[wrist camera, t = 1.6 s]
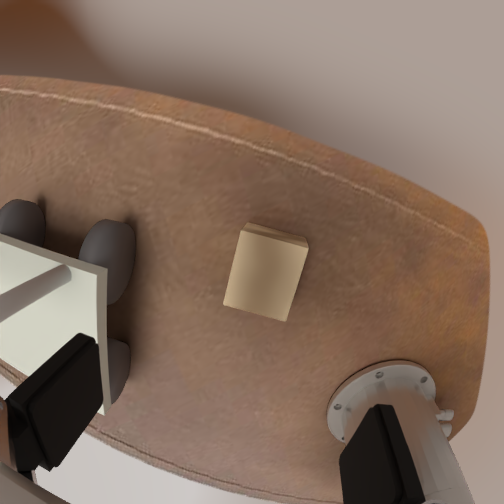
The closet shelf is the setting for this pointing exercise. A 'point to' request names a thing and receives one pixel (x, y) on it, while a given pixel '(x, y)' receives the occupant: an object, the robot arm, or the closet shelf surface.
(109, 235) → the trolley
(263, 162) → the closet shelf surface
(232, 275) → the block
